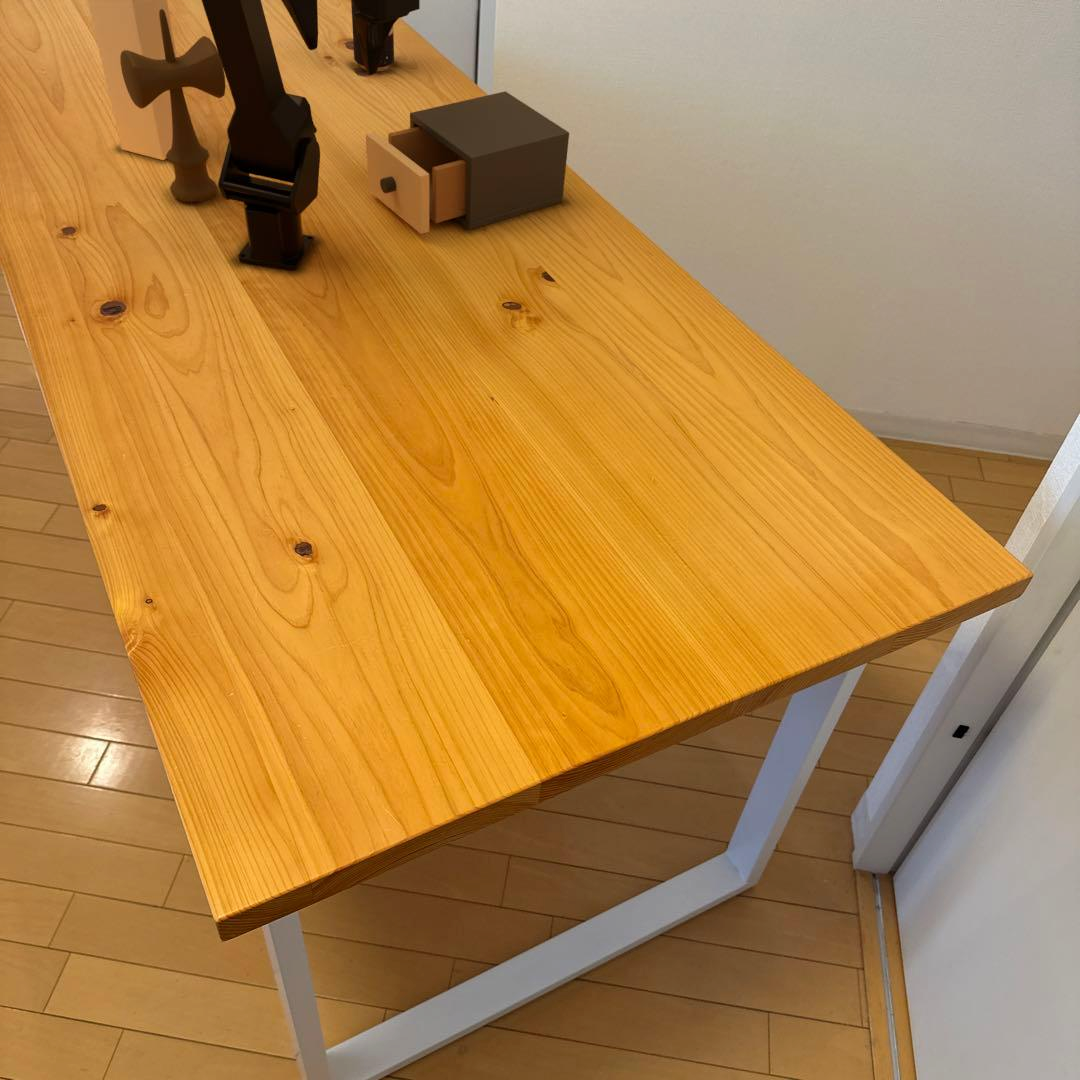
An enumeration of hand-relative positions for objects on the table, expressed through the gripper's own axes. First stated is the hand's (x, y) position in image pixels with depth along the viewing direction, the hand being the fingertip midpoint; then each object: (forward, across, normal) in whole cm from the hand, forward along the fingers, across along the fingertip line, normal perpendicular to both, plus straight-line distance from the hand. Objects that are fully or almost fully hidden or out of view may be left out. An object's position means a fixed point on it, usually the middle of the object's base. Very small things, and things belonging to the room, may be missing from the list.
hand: (342, 61), depth 112 cm
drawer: (+13, -12, -2) cm, 18 cm away
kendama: (+14, +9, +16) cm, 23 cm away
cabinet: (+13, -14, -9) cm, 21 cm away
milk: (+14, +21, +11) cm, 28 cm away
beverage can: (+13, +21, -26) cm, 36 cm away
